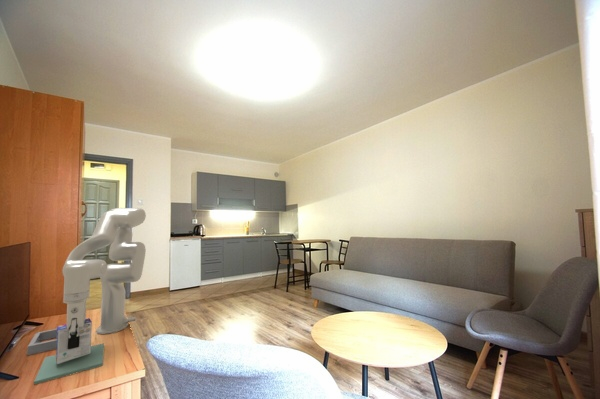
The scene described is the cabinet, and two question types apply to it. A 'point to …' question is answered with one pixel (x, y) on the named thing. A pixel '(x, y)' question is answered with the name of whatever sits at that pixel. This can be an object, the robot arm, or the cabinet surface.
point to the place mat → (69, 365)
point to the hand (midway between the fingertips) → (74, 343)
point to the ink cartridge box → (68, 354)
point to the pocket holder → (42, 346)
